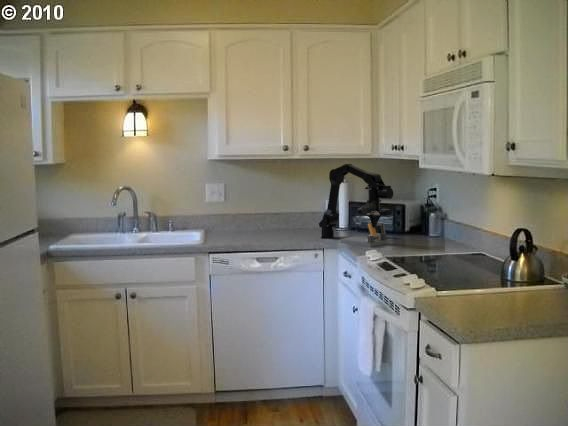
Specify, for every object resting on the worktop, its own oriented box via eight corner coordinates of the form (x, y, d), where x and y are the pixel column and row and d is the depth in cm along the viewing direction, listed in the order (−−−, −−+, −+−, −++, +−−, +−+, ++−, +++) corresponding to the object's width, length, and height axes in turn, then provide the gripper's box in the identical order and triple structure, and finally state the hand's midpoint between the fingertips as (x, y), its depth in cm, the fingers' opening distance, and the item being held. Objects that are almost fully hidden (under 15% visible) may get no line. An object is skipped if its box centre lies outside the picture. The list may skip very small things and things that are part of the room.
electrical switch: (385, 237, 319) (385, 221, 317) (382, 239, 315) (381, 223, 313) (370, 236, 324) (370, 220, 322) (366, 238, 320) (366, 222, 318)
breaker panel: (340, 242, 303) (340, 232, 302) (357, 239, 313) (357, 229, 313) (370, 247, 289) (370, 236, 288) (387, 243, 299) (387, 233, 299)
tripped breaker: (371, 240, 295) (366, 224, 296) (375, 239, 298) (371, 223, 299) (374, 239, 294) (369, 223, 295) (378, 239, 296) (374, 222, 297)
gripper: (350, 198, 295) (350, 227, 296) (379, 200, 281) (379, 231, 283) (363, 196, 302) (363, 225, 304) (392, 198, 289) (392, 228, 291)
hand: (374, 227), depth 295 cm, fingers closed
